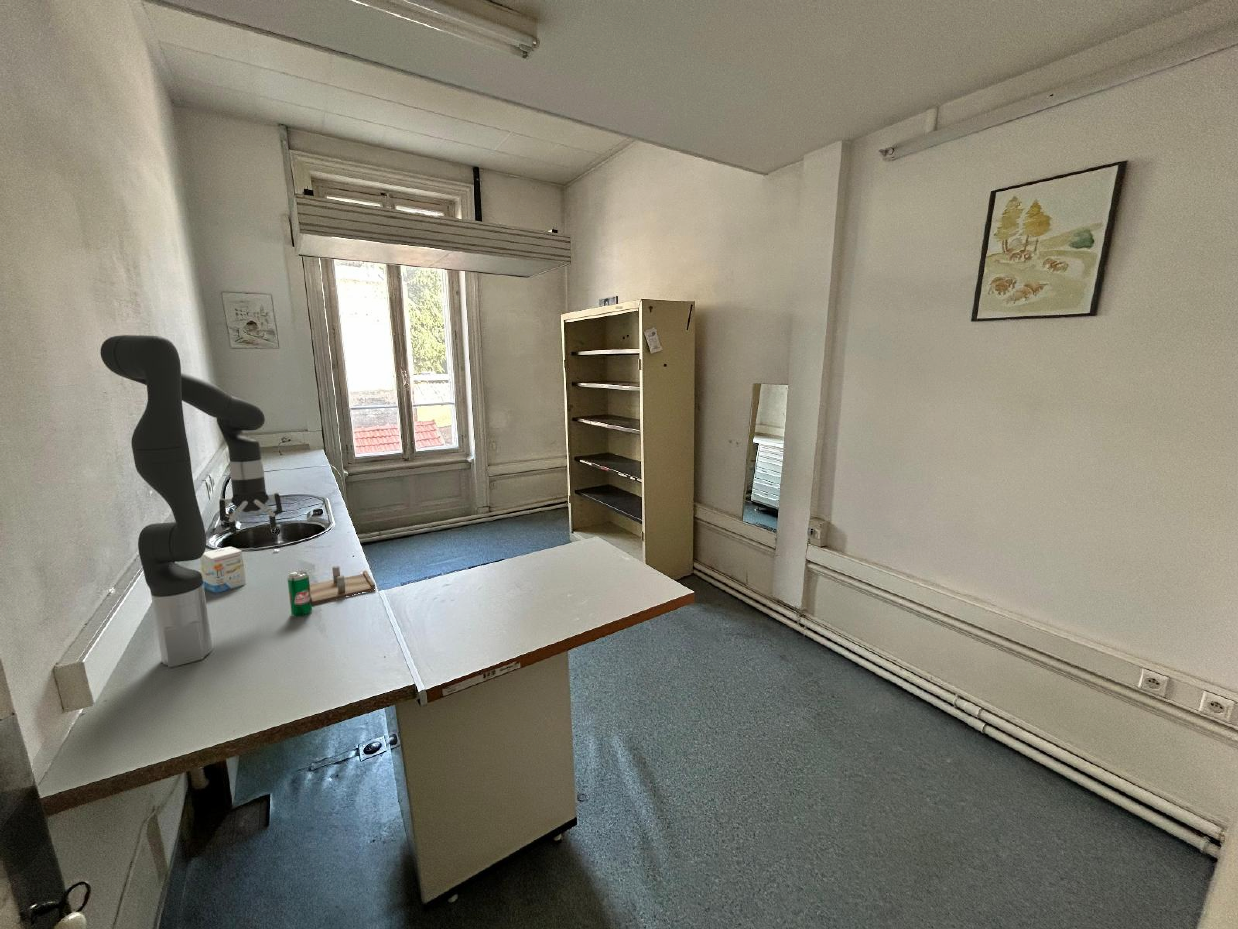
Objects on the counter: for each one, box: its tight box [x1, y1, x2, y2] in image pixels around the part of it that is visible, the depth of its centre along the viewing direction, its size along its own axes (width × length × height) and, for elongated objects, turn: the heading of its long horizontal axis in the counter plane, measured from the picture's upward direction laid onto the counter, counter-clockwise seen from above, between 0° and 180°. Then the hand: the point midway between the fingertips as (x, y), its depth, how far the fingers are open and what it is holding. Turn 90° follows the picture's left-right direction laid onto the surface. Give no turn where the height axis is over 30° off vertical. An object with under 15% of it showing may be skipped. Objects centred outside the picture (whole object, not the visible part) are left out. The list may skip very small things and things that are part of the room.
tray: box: [310, 565, 376, 606], centre depth 153 cm, size 14×18×6 cm
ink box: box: [199, 546, 247, 594], centre depth 155 cm, size 9×8×12 cm
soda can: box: [287, 570, 313, 618], centre depth 138 cm, size 5×5×12 cm
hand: (254, 531), depth 139 cm, fingers open, 8 cm apart
